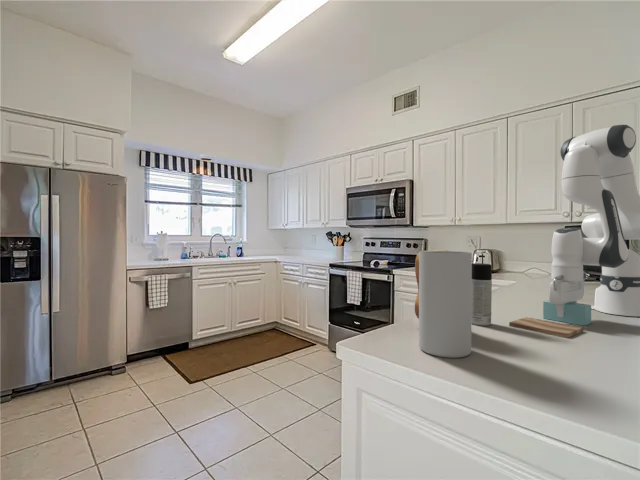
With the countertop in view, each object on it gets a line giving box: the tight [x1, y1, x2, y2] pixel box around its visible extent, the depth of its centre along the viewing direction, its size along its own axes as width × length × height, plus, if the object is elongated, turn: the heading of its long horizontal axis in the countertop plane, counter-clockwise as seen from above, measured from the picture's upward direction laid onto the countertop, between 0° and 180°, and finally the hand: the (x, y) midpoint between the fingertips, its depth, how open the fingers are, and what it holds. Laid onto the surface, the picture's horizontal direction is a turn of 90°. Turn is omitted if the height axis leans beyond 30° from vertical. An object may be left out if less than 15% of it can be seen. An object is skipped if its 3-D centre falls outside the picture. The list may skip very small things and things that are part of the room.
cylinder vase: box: [418, 250, 473, 359], centre depth 84 cm, size 12×12×25 cm
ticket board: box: [508, 316, 584, 339], centre depth 105 cm, size 12×16×1 cm
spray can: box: [471, 262, 493, 327], centre depth 111 cm, size 7×7×20 cm
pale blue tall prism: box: [542, 299, 592, 327], centre depth 115 cm, size 6×12×6 cm, turn 35°
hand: (566, 314), depth 115 cm, fingers open, 8 cm apart
